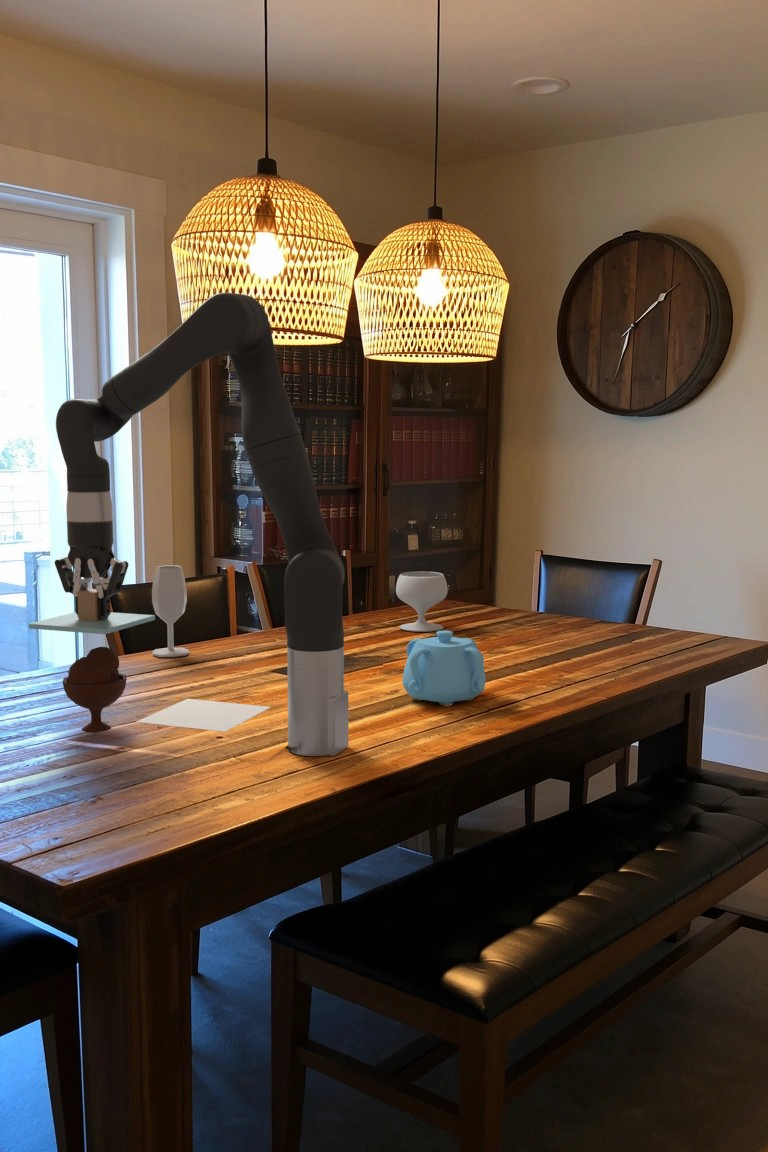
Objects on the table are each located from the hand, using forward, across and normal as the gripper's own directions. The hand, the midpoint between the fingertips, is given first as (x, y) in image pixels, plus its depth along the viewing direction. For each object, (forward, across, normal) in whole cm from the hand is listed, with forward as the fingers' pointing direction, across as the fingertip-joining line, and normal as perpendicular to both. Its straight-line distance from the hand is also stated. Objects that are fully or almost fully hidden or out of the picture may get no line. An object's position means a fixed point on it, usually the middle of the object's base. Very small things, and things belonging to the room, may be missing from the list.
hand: (93, 617), depth 179 cm
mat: (+20, -13, -15) cm, 28 cm away
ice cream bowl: (+20, 0, 0) cm, 20 cm away
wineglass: (+20, +23, -62) cm, 69 cm away
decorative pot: (+20, -50, -44) cm, 70 cm away
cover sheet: (+1, 0, 0) cm, 1 cm away
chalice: (+20, -22, -116) cm, 120 cm away
